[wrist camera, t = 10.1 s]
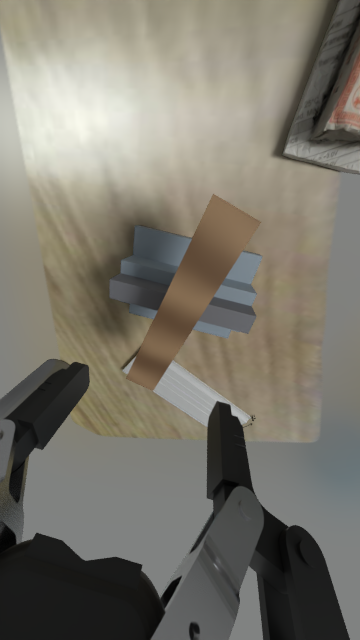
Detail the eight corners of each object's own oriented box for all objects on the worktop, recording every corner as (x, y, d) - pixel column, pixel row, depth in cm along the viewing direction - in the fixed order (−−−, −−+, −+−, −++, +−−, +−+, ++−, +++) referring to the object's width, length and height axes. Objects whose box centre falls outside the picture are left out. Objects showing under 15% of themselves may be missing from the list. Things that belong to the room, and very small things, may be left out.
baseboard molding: (152, 336, 36) (125, 366, 42) (148, 344, 34) (119, 375, 39) (255, 412, 42) (219, 429, 48) (258, 424, 40) (219, 440, 45)
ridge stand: (226, 332, 32) (231, 366, 25) (133, 308, 33) (109, 334, 25) (259, 254, 25) (280, 267, 18) (139, 225, 26) (109, 226, 18)
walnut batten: (160, 369, 27) (153, 390, 24) (136, 358, 27) (125, 378, 23) (250, 222, 16) (261, 222, 13) (212, 200, 16) (213, 193, 12)
